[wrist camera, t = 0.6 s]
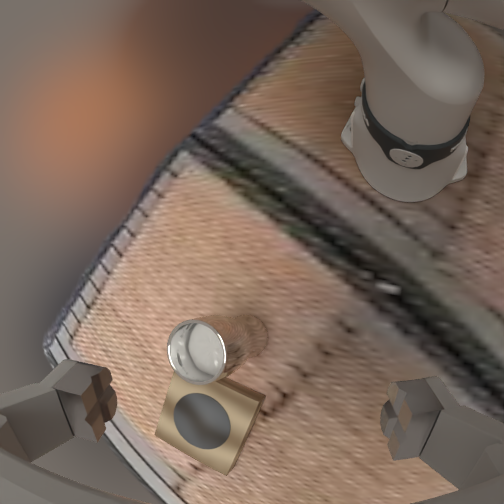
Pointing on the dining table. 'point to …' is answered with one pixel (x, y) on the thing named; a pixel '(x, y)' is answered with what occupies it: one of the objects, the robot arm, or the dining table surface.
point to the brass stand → (209, 420)
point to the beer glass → (214, 346)
